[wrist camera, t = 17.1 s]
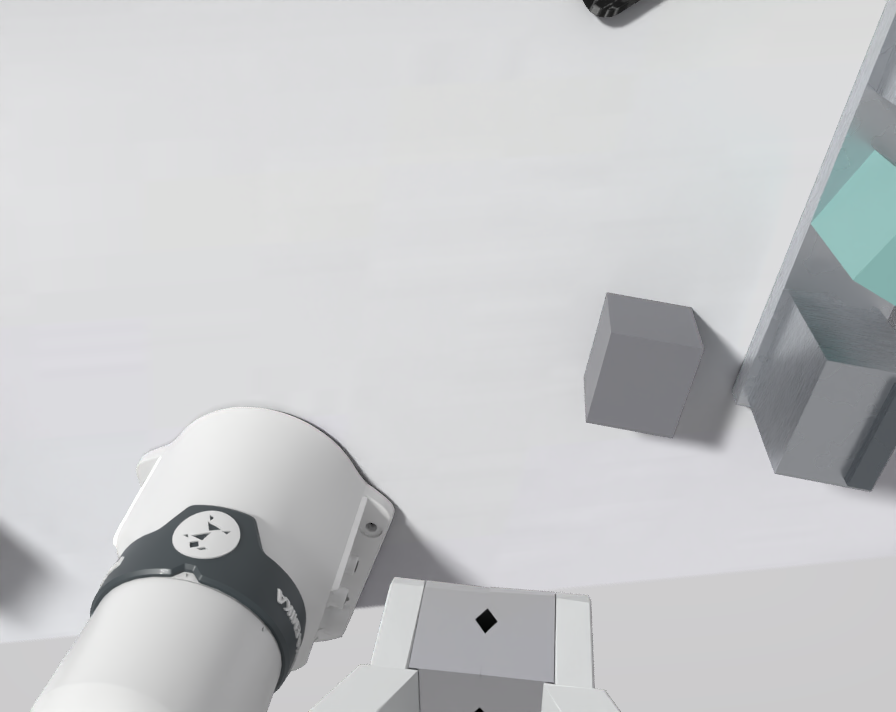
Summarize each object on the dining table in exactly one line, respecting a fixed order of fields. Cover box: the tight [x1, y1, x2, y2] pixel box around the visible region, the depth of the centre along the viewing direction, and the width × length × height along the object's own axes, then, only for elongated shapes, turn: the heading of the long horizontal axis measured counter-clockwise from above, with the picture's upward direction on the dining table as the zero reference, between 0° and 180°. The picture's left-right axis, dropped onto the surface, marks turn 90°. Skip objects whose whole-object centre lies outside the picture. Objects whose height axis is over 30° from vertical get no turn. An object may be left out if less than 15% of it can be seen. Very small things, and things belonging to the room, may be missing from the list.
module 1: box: [584, 293, 704, 438], centre depth 46 cm, size 6×5×5 cm
